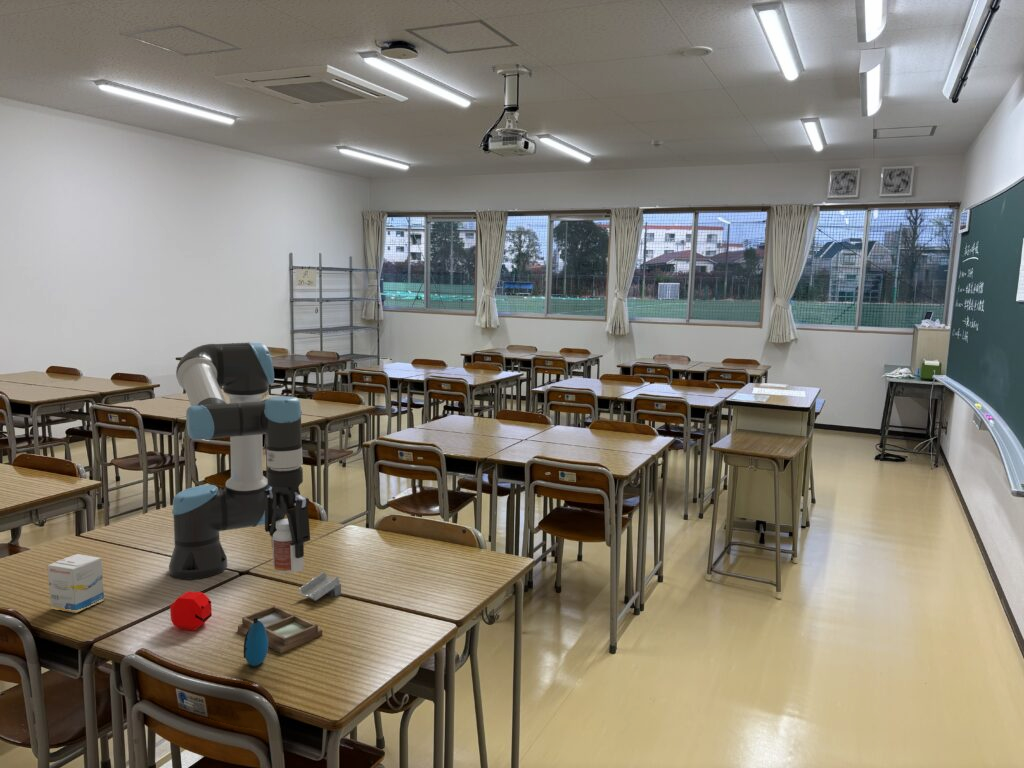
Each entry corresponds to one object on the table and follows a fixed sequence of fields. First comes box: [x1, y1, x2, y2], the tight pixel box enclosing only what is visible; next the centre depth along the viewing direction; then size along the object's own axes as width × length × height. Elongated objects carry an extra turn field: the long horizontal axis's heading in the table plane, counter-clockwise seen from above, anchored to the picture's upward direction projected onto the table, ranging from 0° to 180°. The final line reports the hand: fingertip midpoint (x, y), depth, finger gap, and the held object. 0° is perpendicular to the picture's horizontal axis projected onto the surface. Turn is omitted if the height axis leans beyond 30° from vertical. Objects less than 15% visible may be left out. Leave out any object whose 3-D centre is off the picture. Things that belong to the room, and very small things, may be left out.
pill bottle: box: [272, 518, 293, 574], centre depth 160 cm, size 6×6×11 cm
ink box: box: [47, 553, 105, 610], centre depth 179 cm, size 9×8×12 cm
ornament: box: [243, 618, 269, 667], centre depth 151 cm, size 8×5×10 cm, turn 5°
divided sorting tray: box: [237, 605, 323, 654], centre depth 165 cm, size 17×11×3 cm, turn 52°
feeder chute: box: [298, 571, 342, 601], centre depth 185 cm, size 6×8×5 cm
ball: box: [169, 591, 213, 631], centre depth 168 cm, size 8×8×8 cm
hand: (288, 567), depth 161 cm, fingers closed on pill bottle, 6 cm apart
